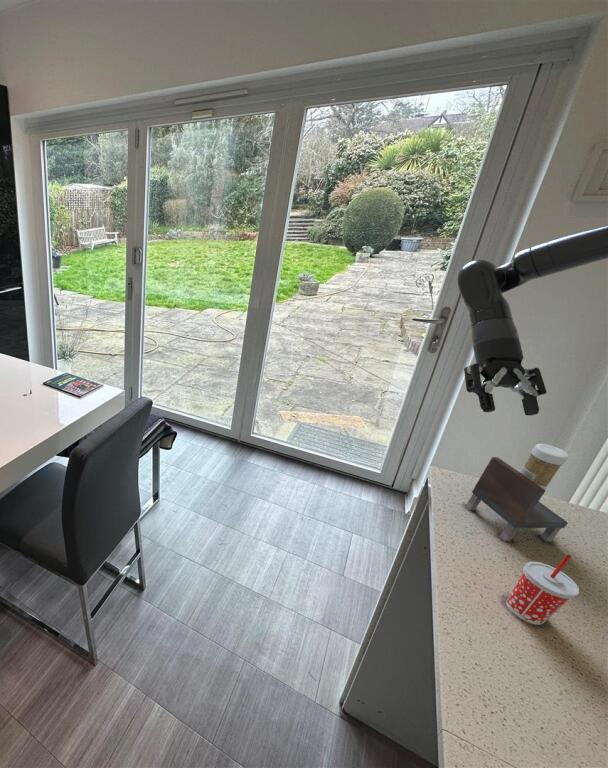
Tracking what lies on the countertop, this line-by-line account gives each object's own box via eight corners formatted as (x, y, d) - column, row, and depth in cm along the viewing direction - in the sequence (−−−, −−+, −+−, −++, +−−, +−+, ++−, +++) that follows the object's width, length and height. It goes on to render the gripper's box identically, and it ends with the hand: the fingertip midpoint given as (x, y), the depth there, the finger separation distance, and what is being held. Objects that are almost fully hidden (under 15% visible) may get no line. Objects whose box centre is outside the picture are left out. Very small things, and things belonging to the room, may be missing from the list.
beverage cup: (554, 620, 67) (604, 562, 61) (539, 638, 64) (591, 579, 58) (507, 591, 72) (549, 534, 65) (492, 606, 69) (534, 548, 63)
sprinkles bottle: (535, 514, 81) (573, 460, 74) (505, 505, 83) (540, 451, 76) (528, 500, 84) (564, 447, 78) (499, 492, 86) (532, 439, 80)
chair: (506, 508, 90) (539, 457, 84) (551, 544, 82) (592, 491, 75) (462, 507, 90) (492, 456, 84) (503, 544, 81) (539, 490, 75)
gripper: (476, 334, 88) (490, 406, 83) (546, 338, 87) (565, 411, 83) (448, 347, 95) (461, 414, 91) (513, 351, 94) (529, 419, 90)
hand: (510, 413), depth 87 cm, fingers open, 8 cm apart
